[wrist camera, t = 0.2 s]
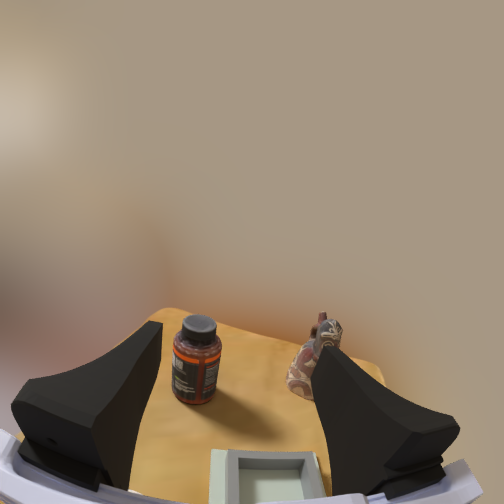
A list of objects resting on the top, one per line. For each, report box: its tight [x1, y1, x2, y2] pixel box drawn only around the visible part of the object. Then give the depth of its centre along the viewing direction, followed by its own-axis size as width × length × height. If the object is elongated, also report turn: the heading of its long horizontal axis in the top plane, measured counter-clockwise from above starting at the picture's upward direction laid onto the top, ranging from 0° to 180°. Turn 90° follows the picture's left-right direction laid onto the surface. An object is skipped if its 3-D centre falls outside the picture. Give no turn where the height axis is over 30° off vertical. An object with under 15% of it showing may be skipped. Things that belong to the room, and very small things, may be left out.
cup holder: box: [209, 449, 326, 504], centre depth 21 cm, size 12×12×3 cm
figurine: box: [286, 312, 343, 400], centre depth 39 cm, size 7×7×12 cm
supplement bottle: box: [172, 315, 222, 404], centre depth 34 cm, size 6×6×11 cm
